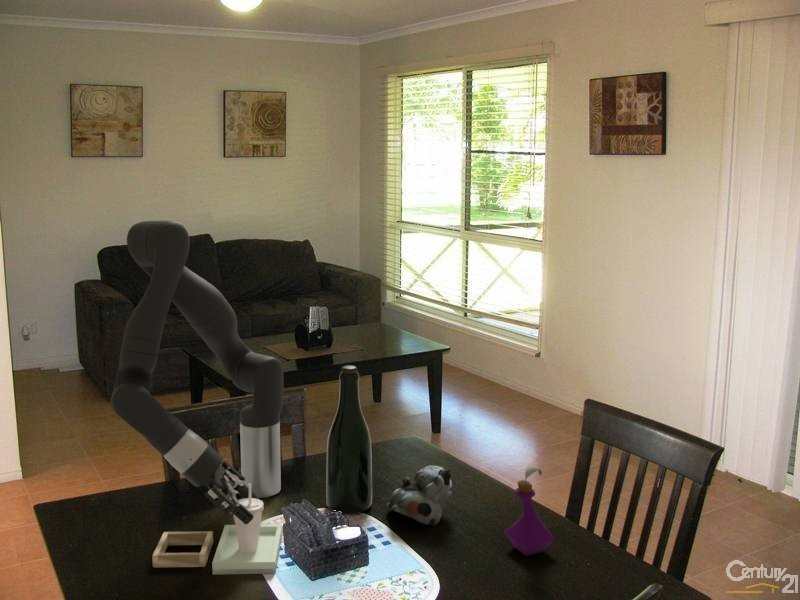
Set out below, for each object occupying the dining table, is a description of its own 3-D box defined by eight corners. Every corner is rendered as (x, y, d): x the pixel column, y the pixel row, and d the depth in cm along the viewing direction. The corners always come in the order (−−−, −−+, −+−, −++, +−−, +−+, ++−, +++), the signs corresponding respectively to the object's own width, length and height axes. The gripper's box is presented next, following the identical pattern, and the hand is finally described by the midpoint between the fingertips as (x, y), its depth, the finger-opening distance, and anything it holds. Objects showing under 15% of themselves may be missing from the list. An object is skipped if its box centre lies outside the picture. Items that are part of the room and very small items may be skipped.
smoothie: (257, 558, 164) (256, 491, 161) (226, 554, 165) (225, 488, 162) (268, 543, 170) (268, 479, 167) (239, 540, 171) (238, 476, 169)
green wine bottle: (318, 510, 187) (317, 369, 181) (338, 493, 197) (338, 358, 191) (360, 519, 184) (360, 375, 177) (379, 500, 193) (380, 363, 187)
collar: (164, 543, 172) (163, 531, 171) (213, 542, 172) (213, 531, 172) (152, 567, 162) (152, 555, 161) (204, 566, 162) (204, 554, 162)
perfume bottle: (524, 561, 166) (528, 477, 162) (503, 545, 172) (506, 463, 169) (554, 553, 169) (558, 470, 166) (532, 538, 176) (536, 457, 172)
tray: (225, 535, 175) (225, 525, 175) (282, 534, 176) (282, 524, 175) (212, 574, 159) (212, 562, 159) (275, 573, 160) (275, 562, 160)
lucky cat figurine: (384, 503, 191) (409, 447, 193) (432, 525, 191) (457, 469, 193) (385, 513, 177) (412, 453, 178) (437, 537, 176) (464, 476, 178)
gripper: (199, 458, 156) (262, 514, 159) (212, 432, 170) (269, 484, 173) (172, 485, 157) (235, 540, 159) (187, 456, 171) (244, 508, 173)
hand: (253, 511), depth 166 cm, fingers open, 8 cm apart
